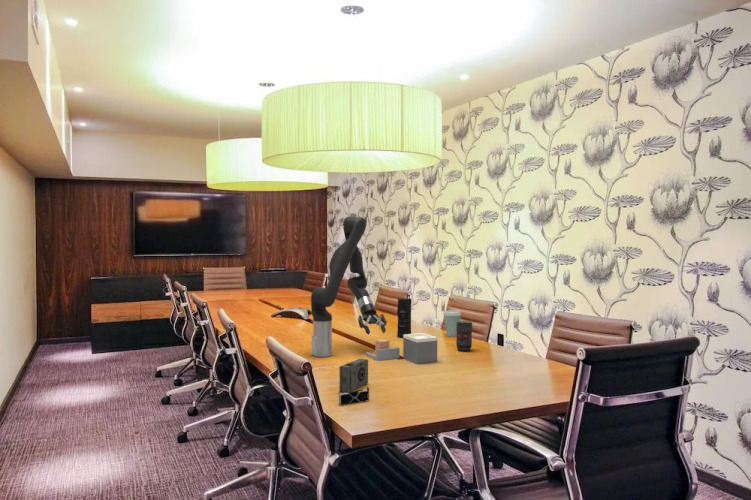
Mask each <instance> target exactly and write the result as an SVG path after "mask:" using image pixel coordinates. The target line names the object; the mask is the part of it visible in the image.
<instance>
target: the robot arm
mask: <svg viewBox="0 0 751 500" xmlns="http://www.w3.org/2000/svg"><path fill="white" fill-rule="evenodd" d="M342 228H343V234H344V238H345V241H344V242H343V243H342V244H341V245H339V246H337V248H336V249H335V250H334V252H333V254H332V257H331V258H330V261H329V267H328V268H329V279H328V282H327V284H326V286H325V287H316V288H314V289H313V290H312V292H311V296H310V306H311V307H310V308H311V309H310V310H311V312H310V313H311V315H312V335H311V355H312V356H313V357H315V358H318V357H319V358H320V357H321V358H322V357H323V358H325V357H330V356H332V355H333V315H332V314H331V312H329V311H328V310H327V308H330V307H331V306H333V305H334V303H335V301H336V298H337V297H338V293H339V290H340V286H341V284H342V282H343V279H344V276H345V273H346V271H347V268H348V267H349V271H350V272H351V274H357V275H358V276H351V277H349V278H348V279H347V283H346V284H347V288H348V289H349V291H350V292H351V293H352V294H353V296H355V300H356V302H357V304H358V308H359V311H360V314H361V315H358V318H357V322H358V324H359V328H360V329H364V331H365V333H366V334H367V335H370V333H371V331H370V328H369V326H368V325H375V324H376V326H379V327H380V330H381V332H382V334H385V333H386V331H387V329H386V325H387V324H388V322H387V320H386V317H385V316H384V314H383V313H381V314H380V315H379V314H378V313H377V309H376V308H375V305H374V303H373V300H372V299H371V296H370V294H369V291H368V290H367V289H366V288H367V286H368V279H367V278H366V275H365V272H364V263H363V262H364V261H363V255H362V253H361V251H360V248H359V247H358V244H359V243H360V240H361V239H362V237H363V236H364V234H365V231H366V228H367V221H366V218H364V217H362V216H346V217H345V218H344V220H343V223H342ZM364 322H365V323H364Z"/></svg>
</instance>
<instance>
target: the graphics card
mask: <svg viewBox="0 0 751 500" xmlns="http://www.w3.org/2000/svg"><path fill="white" fill-rule="evenodd" d="M365 400H369V401H370V387H369V386H367V387H366V389H364V388H358V389H356V390H354V391H351V392H348V393H344V392H339V394H338V405H340V406H344V405H350V404H355V403H362V402H361V401H364V402H366V401H365ZM354 402H355V403H354Z"/></svg>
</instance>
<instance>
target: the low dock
mask: <svg viewBox="0 0 751 500" xmlns="http://www.w3.org/2000/svg"><path fill="white" fill-rule="evenodd" d="M400 350H401V349H400V347H391V348H390V347H389V349H379V350H376V356H375V354H372V353H371V352H368V351H367V352H365V356H366V357H368V358H370V359H373V360H375V361H377V362H378V361H386V360H387V361H388V360H396V359H397V360H398V359H400V357H401V356H400V352H401V351H400Z"/></svg>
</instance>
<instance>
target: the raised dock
mask: <svg viewBox="0 0 751 500" xmlns="http://www.w3.org/2000/svg"><path fill="white" fill-rule="evenodd" d="M402 339H403V341H402V342H403V343H402V344H403V346H402V351H403V352H402V354H403V356H402V358H403V359H404V360H405V361H409V362H411V363H414V364H415V365H416V364H417V365H421V364H429V363H437V362H438V336H434V335H430V334H428V333H426V332H425V333H424V332H418V333H411V334H405V335H403V338H402Z"/></svg>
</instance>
